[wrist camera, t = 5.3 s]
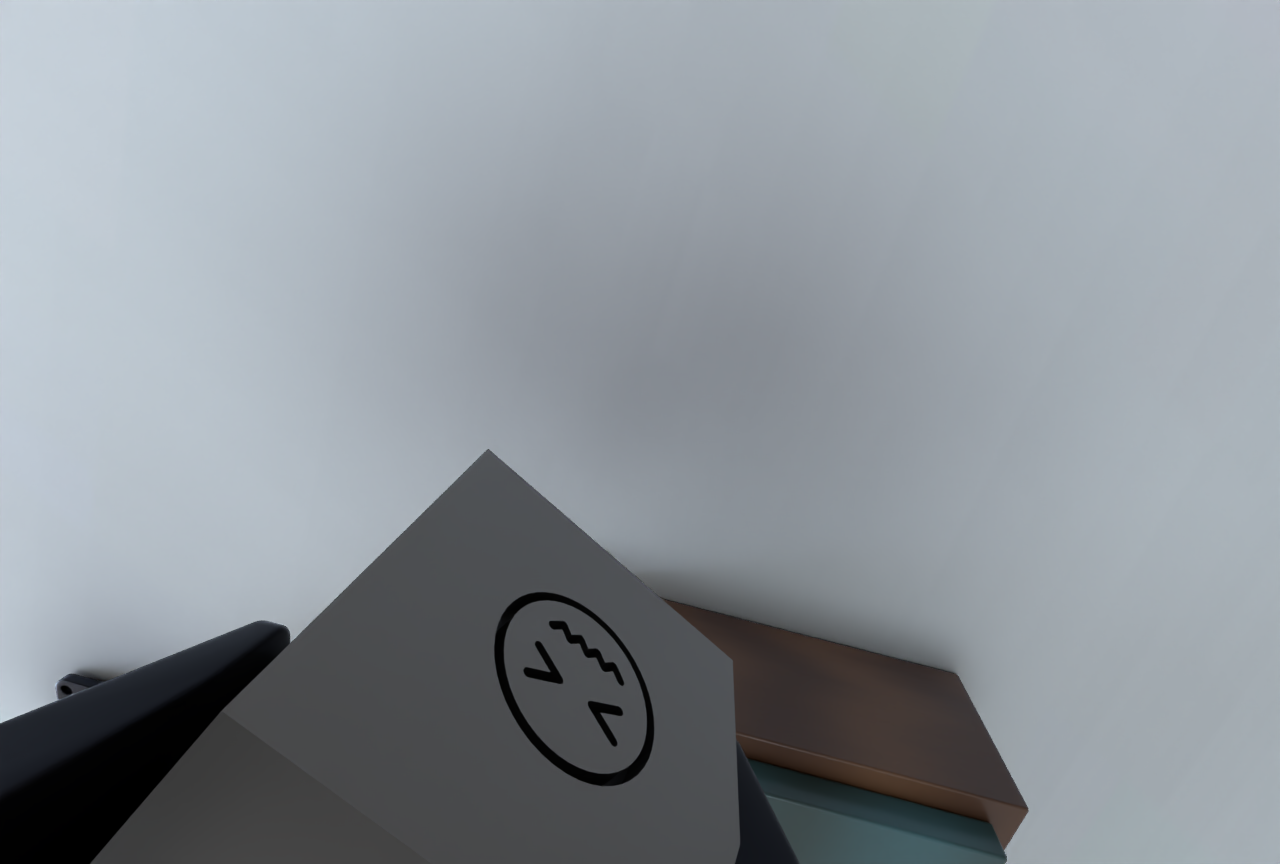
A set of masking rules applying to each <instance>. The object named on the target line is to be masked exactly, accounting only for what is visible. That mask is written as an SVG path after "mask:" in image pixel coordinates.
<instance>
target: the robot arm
mask: <svg viewBox="0 0 1280 864" xmlns="http://www.w3.org/2000/svg"><path fill="white" fill-rule="evenodd" d="M289 644H290V631H289V630H288V628H287V627H286V626H284V625H281V624H277V623H273V622H269V621H262V620H261V621H257V622H253V623H251V624H248V625H246V626H243V627H241V628H238V629H236V630H233V631H231V632H228V633H226V634H223V635H221V636H218V637H216V638H213V639H211V640H208V641H206V642H203V643H201V644H198V645H196V646H193V647H191V648H188V649H186V650H183V651H181V652H178V653H176V654H173V655H171V656H168V657H166V658H163V659H161V660H158V661H156V662H153V663H151V664H148V665H146V666H143V667H141V668H138V669H136V670H133V671H131V672H128V673H126V674H123V675H121V676H118V677H116V678H113V679H111V680H108V681H106V682H102V681H98V680H94V679H91V678H87V677H83V676H80V675H76V674H68V675H66V676H65V677H63V678H62V679H61V680H59V681H58V682H57V683H56V693H57V698H58V701H55V702H53V703H50V704H48V705H45V706H43V707H40V708H38V709H35V710H33V711H30V712H28V713H25V714H23V715H20V716H18V717H15V718H13V719H10V720H8V721H5V722H3V723H0V864H90V863H91V862H92V861H93V860H94V859H95V857H96V856H97V855H98V854H99V853H100V852H101V850H102V849H103V848H104V847H105V846H106V845H107V843H108V842H109V841H110V840H111V839H112V838H113V836H114V835H115V834H116V833H117V832H118V831H119V829H120V828H121V827H122V826H123V825H124V824H125V823H126V821H127V820H128V819H129V818H130V817H131V816H132V814H133V813H134V812H135V811H136V810H137V809H138V807H139V806H140V805H141V804H142V803H143V802H144V800H145V799H146V798H147V797H148V796H149V795H150V793H151V792H152V791H153V790H154V789H155V788H156V786H157V785H158V784H159V783H160V782H161V781H162V779H163V778H164V777H165V776H166V775H167V774H168V773H169V771H170V770H171V769H172V768H173V767H174V766H175V764H176V763H177V762H178V761H179V760H180V759H181V757H182V756H183V755H184V754H185V753H186V752H187V750H188V749H189V748H190V747H191V746H192V745H193V743H194V742H195V741H196V740H197V739H198V738H199V736H200V735H201V734H202V733H203V732H204V731H205V729H206V728H207V727H208V726H209V725H210V724H211V723H212V721H213V720H214V719H215V718H216V717H217V716H218V714H219V713H220V712H221V711H222V710H223V709H224V708H225V707H226V706H227V705H228V704H229V703H230V702H231V701H232V700H233V699H234V698H235V697H236V696H237V695H238V694H239V693H240V692H241V691H242V690H243V689H244V688H245V687H246V686H247V685H248V684H249V683H250V682H251V681H252V680H253V679H254V678H255V677H256V676H258V675H259V674H260V673H261V672H262V671H263V670H264V669H265V668H266V667H267V666H268V665H269V664H270V663H271V662H272V661H273V660H274V659H275V658H276V657H277V656H278V655H279V654H280V653H281V652H282V651H283V650H284V649H285V648H286V647H287V646H288V645H289ZM736 753H737V778H738V802H739V827H740V847H739V850H738V854H737V857H736V861H735V864H800V863H799V861H798V859H797V857H796V855H795V853H794V851H793V849H792V847H791V845H790V843H789V841H788V839H787V837H786V835H785V833H784V831H783V829H782V827H781V825H780V823H779V821H778V819H777V817H776V815H775V813H774V811H773V809H772V807H771V805H770V803H769V801H768V799H767V797H766V795H765V793H764V791H763V789H762V787H761V785H760V783H759V781H758V779H757V777H756V775H755V773H754V771H753V769H752V767H751V765H750V763H749V761H748V759H747V757H746V755H745V753H744V751H743V749H742V747H741V745H740V744H739V742H738V741H737V740H736Z"/></svg>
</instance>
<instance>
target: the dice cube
mask: <svg viewBox="0 0 1280 864" xmlns="http://www.w3.org/2000/svg"><path fill="white" fill-rule="evenodd" d="M739 847H740V827H739V802H738V778H737V753H736V729H735V704H734V680H733V660H732V659H731V658H729V657H728V656H727V655H726V654H725V653H724V652H723V651H721V650H720V649H719V648H718V647H717V646H716V645H714V644H713V643H712V642H711V641H710V640H709V639H708V638H706V637H705V636H704V635H703V634H702V633H701V632H699V631H698V630H697V629H696V628H695V627H694V626H692V625H691V624H690V623H689V622H688V621H687V620H686V619H684V618H683V617H682V616H681V615H680V614H679V613H677V612H676V611H675V610H674V609H673V608H672V607H671V606H669V605H668V604H667V603H666V602H665V601H664V600H662V599H661V598H660V597H659V596H658V595H657V594H656V593H654V592H653V591H652V590H651V589H650V588H649V587H647V586H646V585H645V584H644V583H643V582H642V581H640V580H639V579H638V578H637V577H636V576H635V575H634V574H632V573H631V572H630V571H629V570H628V569H627V568H625V567H624V566H623V565H622V564H621V563H620V562H619V561H617V560H616V559H615V558H614V557H613V556H612V555H610V554H609V553H608V552H607V551H606V550H605V549H603V548H602V547H601V546H600V545H599V544H598V543H597V542H595V541H594V540H593V539H592V538H591V537H590V536H588V535H587V534H586V533H585V532H584V531H583V530H582V529H580V528H579V527H578V526H577V525H576V524H575V523H573V522H572V521H571V520H570V519H569V518H568V517H566V516H565V515H564V514H563V513H562V512H561V511H560V510H558V509H557V508H556V507H555V506H554V505H553V504H551V503H550V502H549V501H548V500H547V499H546V498H545V497H543V496H542V495H541V494H540V493H539V492H538V491H536V490H535V489H534V488H533V487H532V486H531V485H529V484H528V483H527V482H526V481H525V480H524V479H523V478H521V477H520V476H519V475H518V474H517V473H516V472H514V471H513V470H512V469H511V468H510V467H509V466H508V465H506V464H505V463H504V462H503V461H502V460H501V459H499V458H498V457H497V456H496V455H495V454H494V453H493V452H491V451H490V450H489V449H488V450H487V451H486V452H484V453H483V454H482V455H481V456H480V457H479V458H478V459H477V460H476V461H475V462H474V463H473V464H472V465H471V466H470V467H469V468H468V469H467V470H466V471H465V472H464V473H463V474H462V475H461V476H460V477H459V478H458V479H457V480H456V481H455V482H454V483H453V484H452V485H451V486H450V487H449V488H448V489H447V490H446V491H445V492H444V493H443V494H442V495H441V496H440V497H439V498H438V499H437V500H436V501H435V502H434V503H433V504H432V505H431V506H430V507H429V508H427V509H426V510H425V511H424V512H423V513H422V514H421V515H420V516H419V517H418V518H417V519H416V520H415V521H414V522H413V523H412V524H411V525H410V526H409V527H408V528H407V529H406V530H405V531H404V532H403V533H402V534H401V535H400V536H399V537H398V538H397V539H396V540H395V541H394V542H393V543H392V544H391V545H390V546H389V547H388V548H387V549H386V550H385V551H384V552H383V553H382V554H381V555H380V556H379V557H378V558H377V559H376V560H375V561H374V562H373V563H372V564H370V565H369V566H368V567H367V568H366V569H365V570H364V571H363V572H362V573H361V574H360V575H359V576H358V577H357V578H356V579H355V580H354V581H353V582H352V583H351V584H350V585H349V586H348V587H347V588H346V589H345V590H344V591H343V592H342V593H341V594H340V595H339V596H338V597H337V598H336V599H335V600H334V601H333V602H332V603H331V604H330V605H329V606H328V607H327V608H326V609H325V610H324V611H323V612H322V613H321V614H320V615H319V616H318V617H317V618H316V619H315V620H313V621H312V622H311V623H310V624H309V625H308V626H307V627H306V628H305V629H304V630H303V631H302V632H301V633H300V634H299V635H298V636H297V637H296V638H295V639H294V640H293V641H292V642H291V643H290V644H289V645H288V646H287V647H286V648H285V649H284V650H283V651H282V652H281V653H280V654H279V655H278V656H277V657H276V658H275V659H274V660H273V661H272V662H271V663H270V664H269V665H268V666H267V667H266V668H265V669H264V670H263V671H262V672H261V673H260V674H259V675H258V676H256V677H255V678H254V679H253V680H252V681H251V682H250V683H249V684H248V685H247V686H246V687H245V688H244V689H243V690H242V691H241V692H240V693H239V694H238V695H237V696H236V697H235V698H234V699H233V700H232V701H231V702H230V703H229V704H228V705H227V706H226V707H225V708H224V709H223V710H222V711H221V712H220V713H219V714H218V716H217V717H216V718H215V719H214V720H213V721H212V723H211V724H210V725H209V726H208V727H207V728H206V729H205V731H204V732H203V733H202V734H201V735H200V736H199V738H198V739H197V740H196V741H195V742H194V743H193V745H192V746H191V747H190V748H189V749H188V750H187V752H186V753H185V754H184V755H183V756H182V757H181V759H180V760H179V761H178V762H177V763H176V764H175V766H174V767H173V768H172V769H171V770H170V771H169V773H168V774H167V775H166V776H165V777H164V778H163V779H162V781H161V782H160V783H159V784H158V785H157V786H156V788H155V789H154V790H153V791H152V792H151V793H150V795H149V796H148V797H147V798H146V799H145V800H144V802H143V803H142V804H141V805H140V806H139V807H138V809H137V810H136V811H135V812H134V813H133V814H132V816H131V817H130V818H129V819H128V820H127V821H126V823H125V824H124V825H123V826H122V827H121V828H120V829H119V831H118V832H117V833H116V834H115V835H114V836H113V838H112V839H111V840H110V841H109V842H108V843H107V845H106V846H105V847H104V848H103V849H102V850H101V852H100V853H99V854H98V855H97V856H96V857H95V859H94V860H93V861H92V862H91V863H90V864H735V861H736V857H737V854H738V850H739Z"/></svg>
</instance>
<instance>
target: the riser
mask: <svg viewBox="0 0 1280 864" xmlns="http://www.w3.org/2000/svg"><path fill="white" fill-rule="evenodd" d="M662 600H664V599H662ZM664 601H665V602H666V603H667V604H668V605H669V606H671V607H672V608H673V609H674V610H675V611H676V612H677V613H679V614H680V615H681V616H682V617H683V618H684V619H686V620H687V621H688V622H689V623H690V624H691V625H692V626H694V627H695V628H696V629H697V630H698V631H699V632H701V633H702V634H703V635H704V636H705V637H706V638H708V639H709V640H710V641H711V642H712V643H713V644H714V645H716V646H717V647H718V648H719V649H720V650H721V651H723V652H724V653H725V654H726V655H727V656H728V657H729V658H731V659H732V660H733V680H734V704H735V729H736V740H737V741H738V742H739V744H740V745H741V747H742V749H743V751H744V753H745V755H746V757H747V759H748V761H749V763H750V765H751V767H752V769H753V771H754V773H755V775H756V777H757V779H758V781H759V783H760V785H761V787H762V789H763V791H764V793H765V795H766V797H767V799H768V801H769V803H770V805H771V807H772V809H773V811H774V813H775V815H776V817H777V819H778V821H779V823H780V825H781V827H782V829H783V831H784V833H785V835H786V837H787V839H788V841H789V843H790V845H791V847H792V849H793V851H794V853H795V855H796V857H797V859H798V861H799V863H800V864H1005V863H1006V861H1007V856H1006V854H1005V852H1004V850H1005V848H1006V847H1007V845H1008V843H1009V842H1010V840H1011V839H1012V837H1013V835H1014V834H1015V832H1016V830H1017V829H1018V827H1019V826H1020V824H1021V822H1022V821H1023V819H1024V818H1025V816H1026V814H1027V813H1028V807H1027V805H1026V803H1025V801H1024V799H1023V797H1022V795H1021V794H1020V792H1019V790H1018V788H1017V786H1016V784H1015V782H1014V780H1013V778H1012V777H1011V775H1010V773H1009V771H1008V769H1007V767H1006V765H1005V763H1004V761H1003V760H1002V758H1001V756H1000V754H999V752H998V750H997V748H996V746H995V744H994V743H993V741H992V739H991V737H990V735H989V733H988V731H987V729H986V727H985V726H984V724H983V722H982V720H981V718H980V716H979V714H978V712H977V710H976V709H975V707H974V705H973V703H972V701H971V699H970V697H969V695H968V693H967V692H966V690H965V688H964V686H963V684H962V682H961V680H960V678H959V676H958V675H957V674H954V673H950V672H946V671H942V670H938V669H934V668H930V667H926V666H922V665H918V664H914V663H911V662H907V661H903V660H899V659H895V658H891V657H887V656H883V655H879V654H875V653H871V652H868V651H864V650H860V649H856V648H852V647H848V646H844V645H840V644H836V643H832V642H828V641H824V640H821V639H817V638H813V637H809V636H805V635H801V634H797V633H793V632H789V631H785V630H781V629H778V628H774V627H770V626H766V625H762V624H758V623H754V622H750V621H746V620H742V619H738V618H734V617H731V616H727V615H723V614H719V613H715V612H711V611H707V610H703V609H699V608H695V607H691V606H688V605H684V604H680V603H676V602H672V601H668V600H664Z"/></svg>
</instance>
